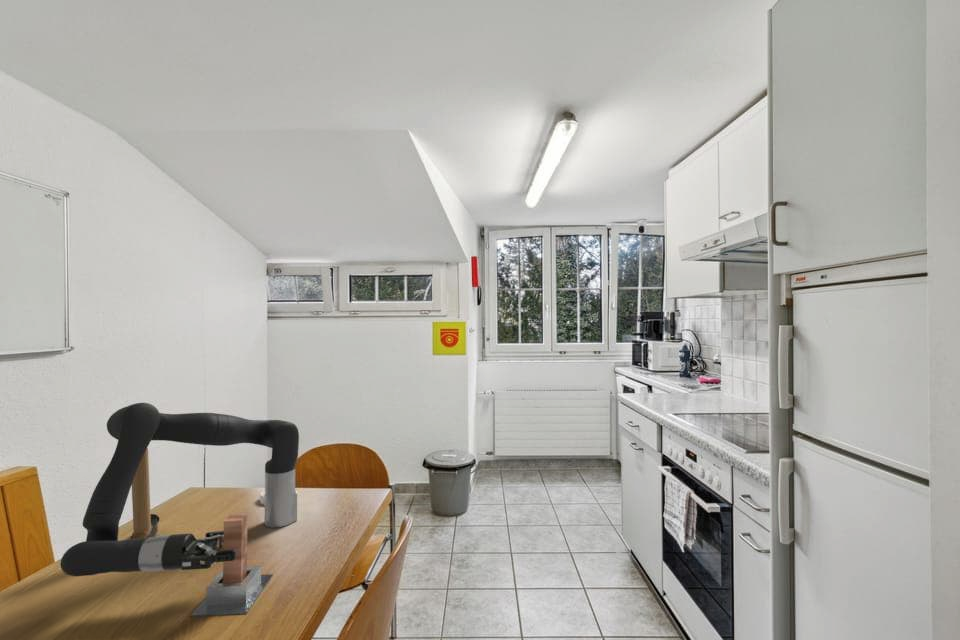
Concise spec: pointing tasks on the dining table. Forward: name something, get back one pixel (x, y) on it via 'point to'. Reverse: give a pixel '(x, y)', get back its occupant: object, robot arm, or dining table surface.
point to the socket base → (231, 606)
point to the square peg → (235, 548)
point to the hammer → (143, 503)
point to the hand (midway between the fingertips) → (241, 546)
